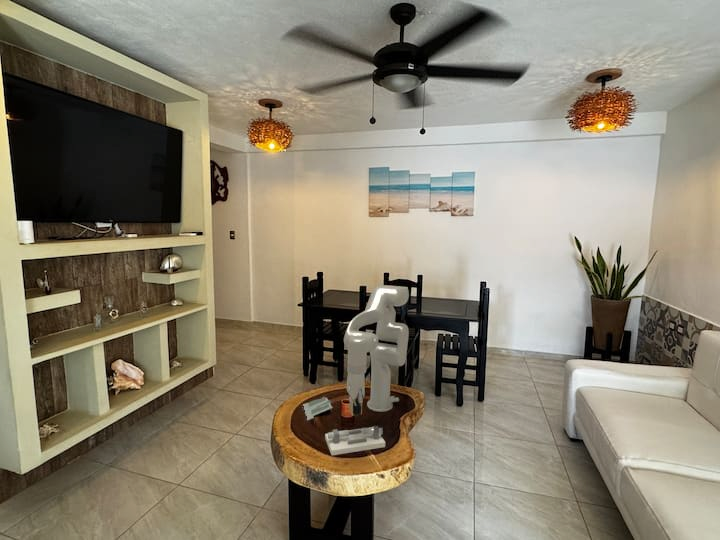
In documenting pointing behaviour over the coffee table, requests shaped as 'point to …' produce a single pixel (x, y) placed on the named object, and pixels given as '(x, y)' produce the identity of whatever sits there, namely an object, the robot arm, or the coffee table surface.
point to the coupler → (352, 405)
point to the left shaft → (373, 431)
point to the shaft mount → (351, 441)
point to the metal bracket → (316, 407)
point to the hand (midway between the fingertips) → (355, 411)
